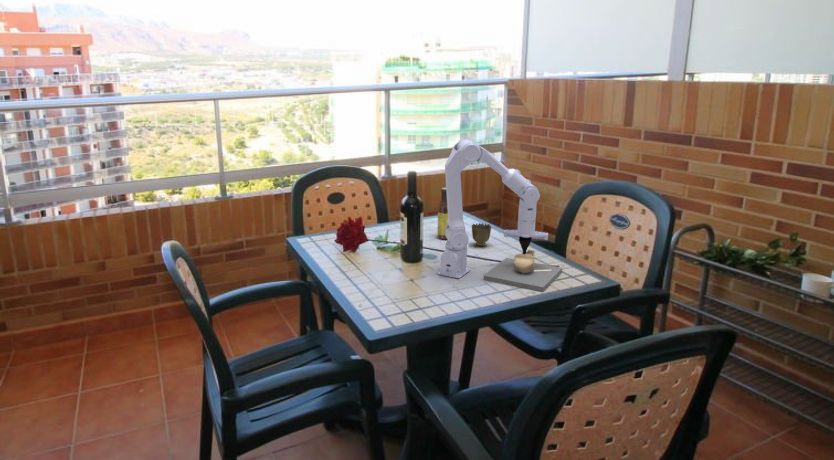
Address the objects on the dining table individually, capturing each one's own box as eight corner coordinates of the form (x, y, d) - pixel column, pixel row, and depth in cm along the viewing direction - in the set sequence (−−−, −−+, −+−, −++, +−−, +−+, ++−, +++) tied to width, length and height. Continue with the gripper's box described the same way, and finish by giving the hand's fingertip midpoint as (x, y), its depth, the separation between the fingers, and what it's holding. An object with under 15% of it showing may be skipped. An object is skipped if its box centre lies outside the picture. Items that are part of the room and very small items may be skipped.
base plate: (543, 291, 189) (543, 285, 189) (483, 279, 199) (483, 273, 198) (562, 271, 206) (562, 266, 206) (506, 261, 216) (506, 256, 215)
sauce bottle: (452, 240, 238) (453, 190, 232) (436, 239, 239) (436, 190, 234) (454, 235, 244) (455, 187, 238) (438, 234, 245) (439, 186, 240)
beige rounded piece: (530, 273, 198) (531, 261, 197) (511, 270, 200) (512, 258, 199) (540, 261, 209) (541, 250, 208) (522, 258, 211) (522, 247, 210)
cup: (491, 248, 229) (492, 228, 227) (471, 248, 229) (472, 228, 227) (489, 242, 236) (490, 222, 234) (470, 242, 236) (471, 222, 234)
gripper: (503, 221, 201) (501, 260, 205) (549, 224, 199) (545, 263, 202) (505, 215, 208) (503, 253, 212) (549, 218, 205) (546, 256, 209)
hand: (524, 258), depth 208 cm, fingers closed, pressing on beige rounded piece
